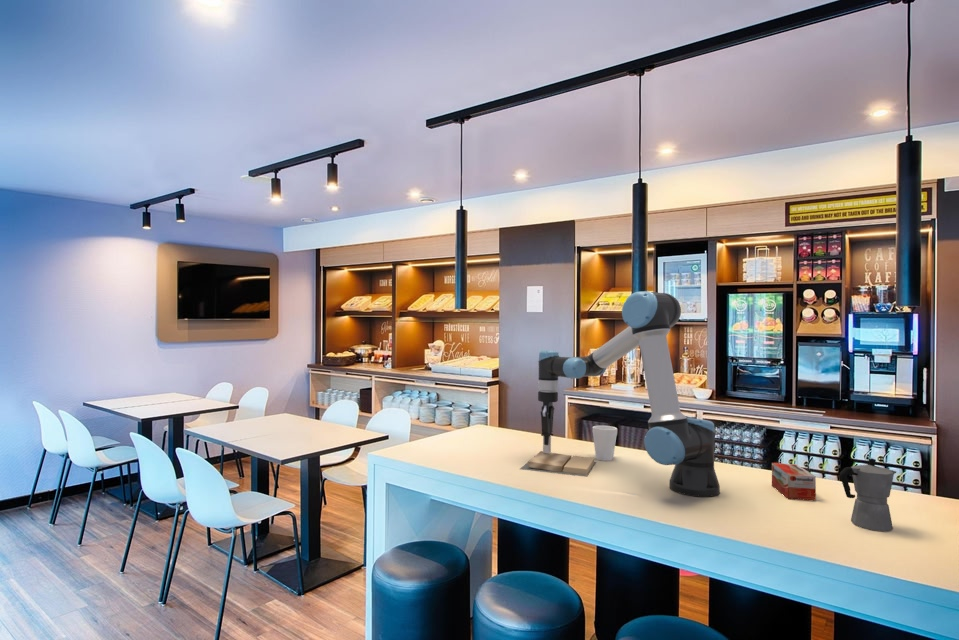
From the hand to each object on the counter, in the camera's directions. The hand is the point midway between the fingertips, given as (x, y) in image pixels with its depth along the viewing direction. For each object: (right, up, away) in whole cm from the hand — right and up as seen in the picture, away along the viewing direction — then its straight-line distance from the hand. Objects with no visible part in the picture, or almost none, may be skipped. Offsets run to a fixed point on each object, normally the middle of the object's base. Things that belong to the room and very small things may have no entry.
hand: (546, 452), depth 209 cm
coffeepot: (+79, -5, -62) cm, 100 cm away
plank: (+1, -2, -7) cm, 7 cm away
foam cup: (+23, -5, +4) cm, 24 cm away
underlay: (+4, -4, -8) cm, 9 cm away
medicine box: (+75, -5, -33) cm, 82 cm away
